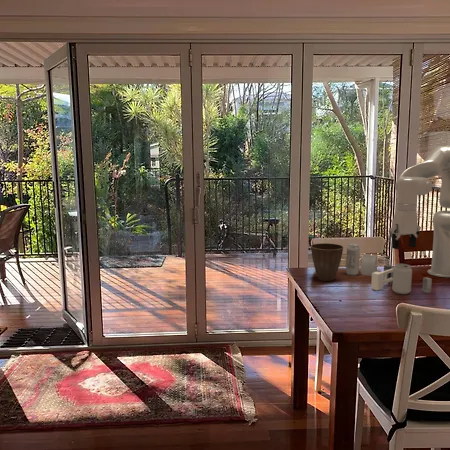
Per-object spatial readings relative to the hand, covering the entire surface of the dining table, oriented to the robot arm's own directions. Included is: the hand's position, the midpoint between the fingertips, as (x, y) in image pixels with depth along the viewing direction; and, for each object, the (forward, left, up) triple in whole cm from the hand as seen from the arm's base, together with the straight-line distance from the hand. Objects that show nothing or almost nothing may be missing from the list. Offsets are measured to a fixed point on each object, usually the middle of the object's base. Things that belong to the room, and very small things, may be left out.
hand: (403, 247), depth 182 cm
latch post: (-10, +4, -20) cm, 23 cm away
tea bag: (-7, -27, -20) cm, 34 cm away
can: (0, 0, -20) cm, 20 cm away
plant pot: (+17, -30, -20) cm, 40 cm away
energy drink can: (0, -31, -20) cm, 37 cm away
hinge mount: (-7, -12, -20) cm, 24 cm away
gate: (0, -9, -19) cm, 21 cm away
